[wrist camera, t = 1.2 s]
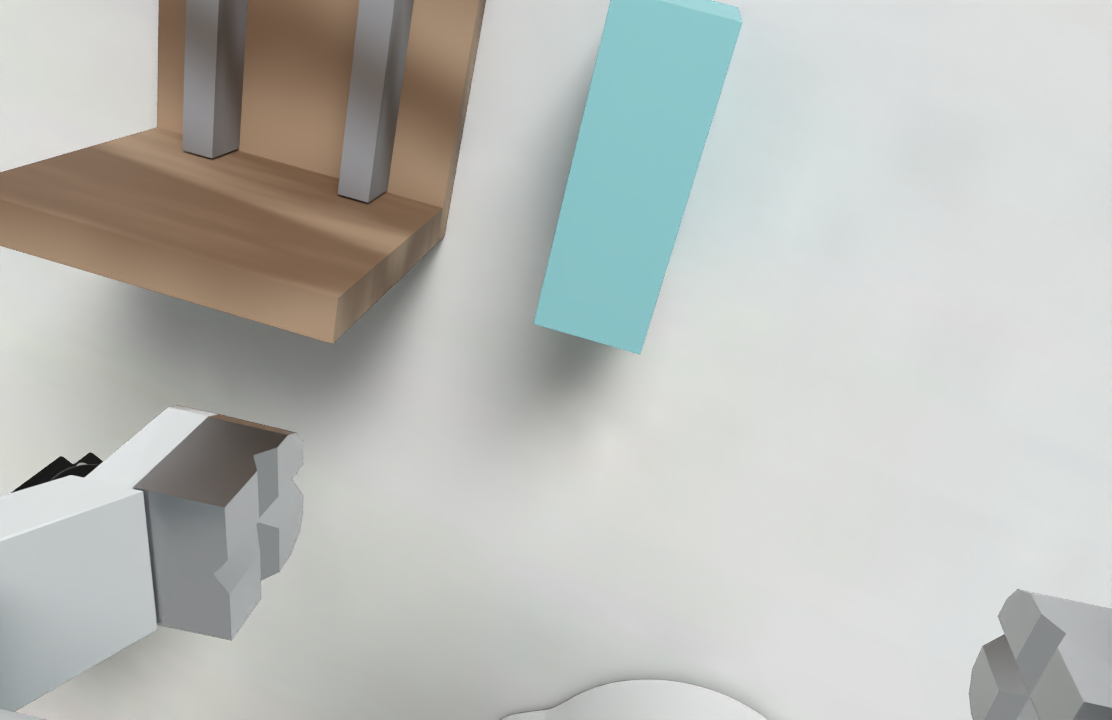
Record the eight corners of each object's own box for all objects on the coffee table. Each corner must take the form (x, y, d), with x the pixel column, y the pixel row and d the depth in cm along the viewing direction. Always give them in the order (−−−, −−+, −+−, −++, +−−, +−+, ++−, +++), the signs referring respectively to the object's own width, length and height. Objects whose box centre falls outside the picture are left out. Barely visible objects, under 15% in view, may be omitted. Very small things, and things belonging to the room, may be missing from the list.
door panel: (658, 271, 34) (640, 354, 27) (573, 248, 34) (533, 323, 27) (738, 7, 29) (742, 21, 22) (640, -19, 30) (613, -12, 22)
